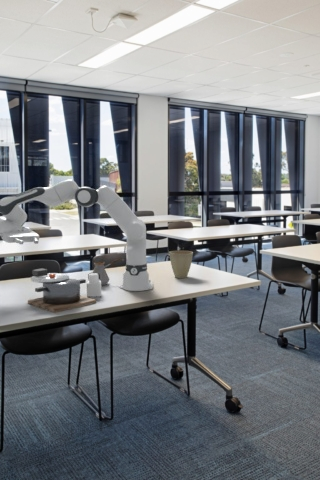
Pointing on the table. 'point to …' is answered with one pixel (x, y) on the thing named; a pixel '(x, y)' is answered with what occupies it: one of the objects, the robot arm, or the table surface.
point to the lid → (47, 276)
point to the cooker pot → (61, 292)
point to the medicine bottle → (93, 285)
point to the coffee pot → (103, 271)
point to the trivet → (58, 308)
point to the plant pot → (181, 262)
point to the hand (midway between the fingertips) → (29, 242)
